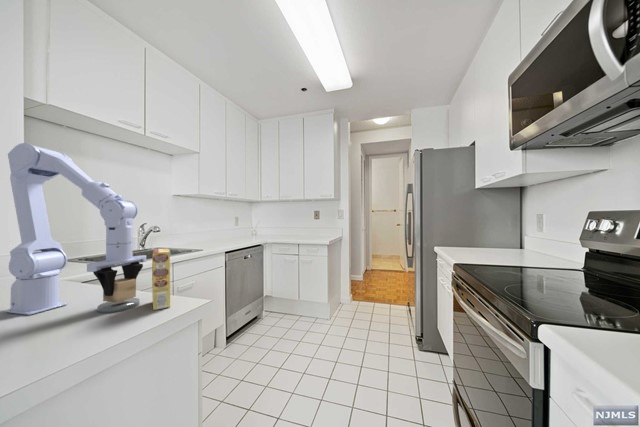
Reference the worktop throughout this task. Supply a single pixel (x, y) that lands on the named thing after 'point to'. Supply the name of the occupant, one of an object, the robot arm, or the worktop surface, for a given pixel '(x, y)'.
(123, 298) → the oak cube
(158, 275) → the candy box
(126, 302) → the slate coaster
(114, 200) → the robot arm
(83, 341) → the worktop surface
